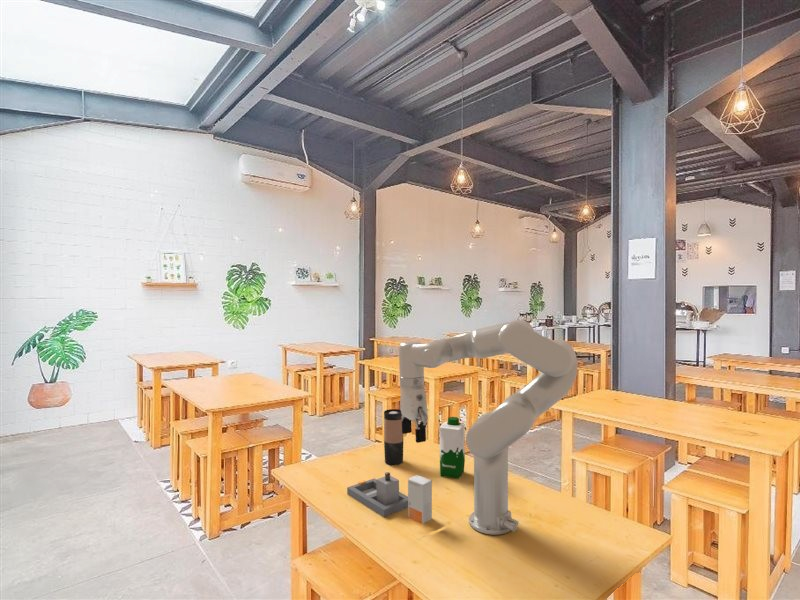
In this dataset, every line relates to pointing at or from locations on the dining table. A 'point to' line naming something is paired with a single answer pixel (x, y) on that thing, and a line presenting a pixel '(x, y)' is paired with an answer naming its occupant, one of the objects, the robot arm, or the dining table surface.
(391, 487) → the single plug
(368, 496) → the pdu strip
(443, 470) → the milk carton
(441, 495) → the dining table surface
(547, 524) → the dining table surface
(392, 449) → the travel mug
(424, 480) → the skincare box
